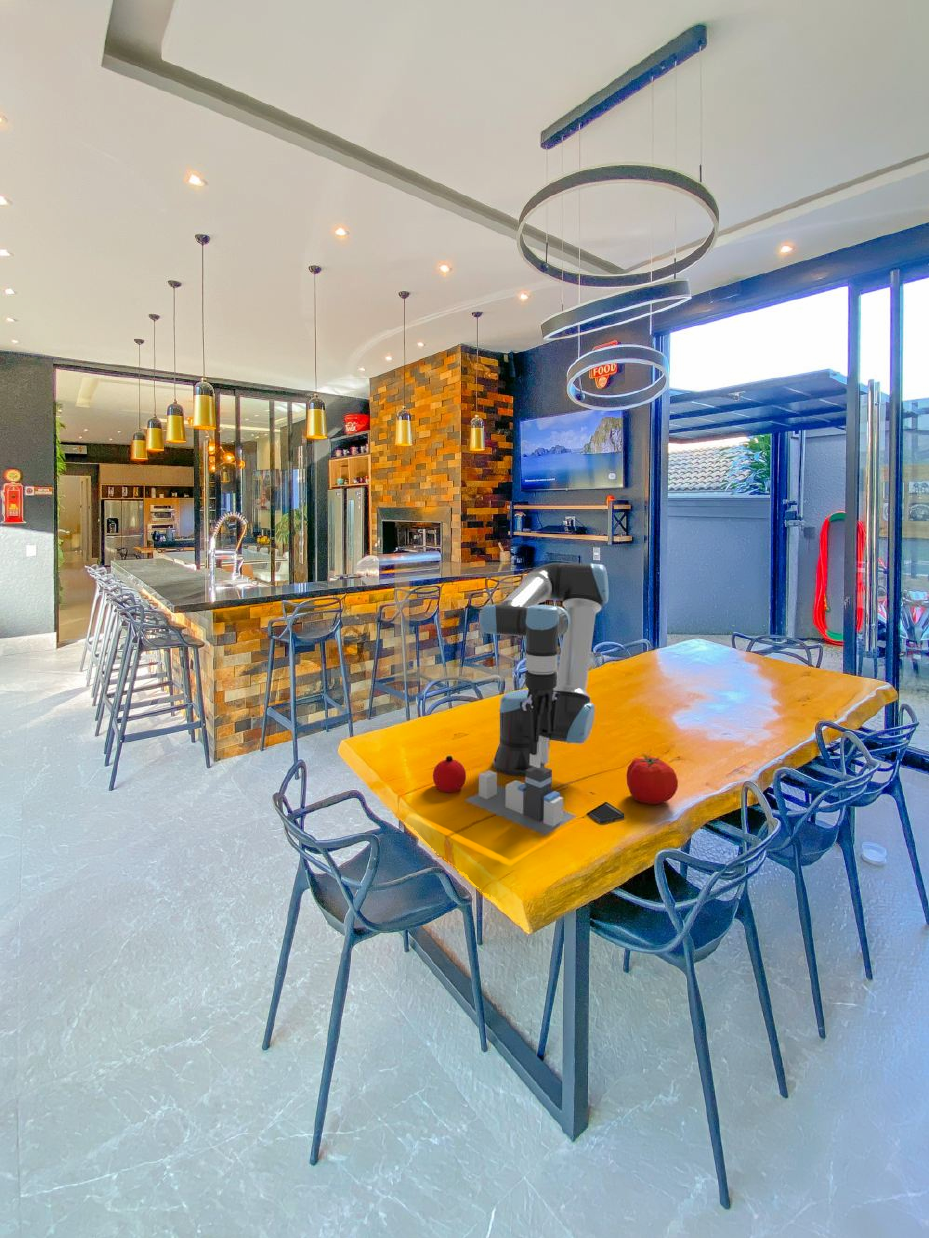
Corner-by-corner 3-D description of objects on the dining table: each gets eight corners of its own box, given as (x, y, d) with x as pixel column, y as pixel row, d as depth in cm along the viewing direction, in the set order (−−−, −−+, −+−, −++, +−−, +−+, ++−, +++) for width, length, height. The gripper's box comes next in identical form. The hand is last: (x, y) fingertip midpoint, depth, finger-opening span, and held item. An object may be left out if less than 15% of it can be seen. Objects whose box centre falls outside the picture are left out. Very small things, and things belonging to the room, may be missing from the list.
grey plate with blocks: (497, 788, 176) (497, 761, 175) (576, 819, 158) (577, 790, 157) (464, 803, 167) (464, 775, 166) (544, 839, 149) (545, 807, 148)
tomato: (637, 785, 178) (639, 746, 176) (684, 800, 169) (687, 758, 167) (616, 800, 169) (618, 759, 167) (664, 816, 160) (667, 773, 158)
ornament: (472, 789, 175) (472, 754, 174) (453, 801, 168) (453, 765, 166) (445, 781, 180) (445, 748, 179) (426, 793, 173) (425, 758, 171)
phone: (590, 791, 173) (626, 814, 159) (590, 795, 173) (626, 819, 159) (565, 796, 169) (600, 821, 156) (565, 800, 170) (600, 825, 156)
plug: (536, 809, 162) (537, 764, 160) (551, 815, 158) (552, 769, 156) (524, 815, 158) (525, 769, 156) (539, 821, 155) (540, 775, 153)
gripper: (548, 662, 160) (545, 751, 164) (507, 673, 149) (506, 769, 153) (573, 667, 155) (570, 759, 159) (533, 679, 144) (531, 778, 148)
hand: (539, 763), depth 156 cm, fingers open, 3 cm apart
